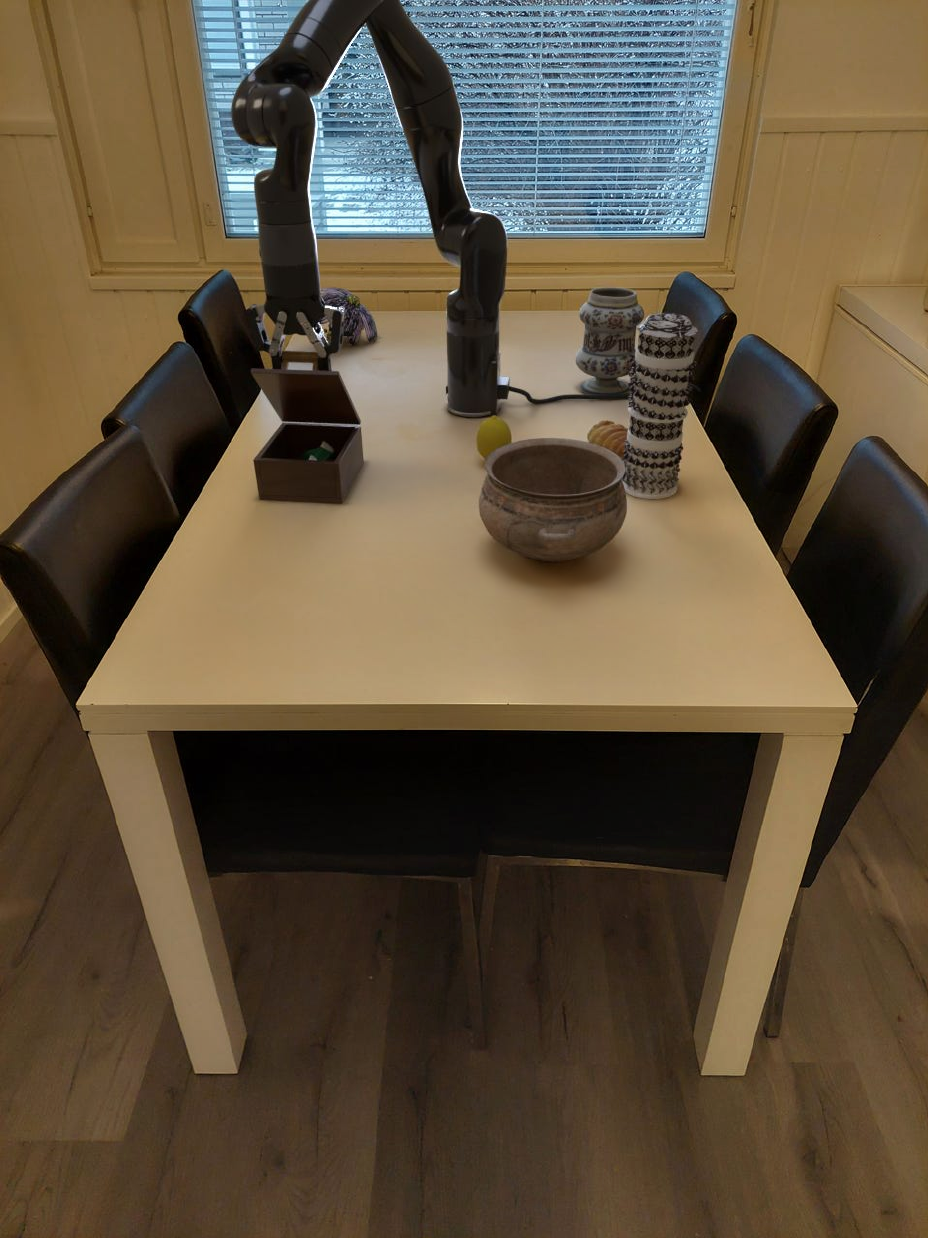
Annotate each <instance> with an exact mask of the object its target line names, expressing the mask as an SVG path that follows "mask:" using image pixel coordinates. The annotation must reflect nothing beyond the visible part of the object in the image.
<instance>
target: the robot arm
mask: <svg viewBox="0 0 928 1238" xmlns="http://www.w3.org/2000/svg"><path fill="white" fill-rule="evenodd" d="M365 25H366V28H367V30H368V33H369V35H370V38H371V40H372V44H373V45H374V49H375V52H376V54H377V57H378V59H379V63H380V65H381V68H382V71H383V74H384V76H385V80H386V83H387V86H388V90H389V93H390V95H391V99H392V102H393V105H394V109H395V112H396V114H397V117H398V120H399V124H400V127H401V129H402V132H403V134H404V137H405V140H406V142H407V145H408V148H409V151H410V156H411V158H412V161H413V165H414V167H415V171H416V173H417V176H418V180H419V183H420V185H421V187H422V191H423V195H424V199H425V203H426V207H427V213H428V218H429V221H430V225H431V229H432V234H433V238H434V242H435V245H436V248H437V250H438V253H439V254H440V256H441V257H442V259H443V260H444V261H445V262H446V263H448V264H449V265H451V266H453V267H456V268H459V270H460V271H459V286H458V288H457V289H455V290H452V291H451V292H449V293H448V294H447V296H446V298H445V318H446V320H445V322H446V323H445V326H446V375H447V377H446V378H447V383H446V384H447V385H446V386H445V395H446V396H447V404H446V405H447V407H446V408H447V411H448V412H449V413H451V414H453V415H456V416H460V417H465V418H466V417H468V418H480V417H486V416H494V415H495V416H497V415H498V412H499V409H500V404H501V400H508V398H509V394H510V392H512V393H515V394H519V395H521V396H524V397H525V398H526V400H527V401H528V402H529V403H531V404H534V405H542V404H551V403H555V402H558V401H563V400H616V399H628V397H629V396H630V393H631V392H630V393H622V394H585V393H581V394H580V393H577V394H576V393H575V394H574V393H573V394H572V393H570V394H569V393H568V394H560V395H555V396H551V397H547V398H539V399H538V398H533V397H532V395H531V394H530V393H529V392H528V391H526V390H524V389H522V388H519V387H514V386H510V378H511V377H510V376H501V352H500V329H501V327H500V326H501V325H500V323H501V322H500V321H501V302H502V300H503V297H504V294H505V290H506V280H507V266H508V265H507V264H508V234H507V231H506V226H505V225H504V222H503V221H502V220H501V218H500V217H498V215H496V214H494V213H491V212H488V211H483V210H480V209H476V208H475V209H474V207H473V206H472V203H471V201H470V199H469V196H468V193H467V190H466V187H465V184H464V180H463V177H462V171H461V152H462V143H463V131H464V122H463V114H462V109H461V106H460V105H461V104H460V102H459V99H458V95H457V91H456V88H455V84H454V81H453V78H452V75H451V72H450V69H449V67H448V65H447V63H446V62H445V60H444V59H443V58H442V56H441V55H440V53H439V52H438V51H437V50H436V48H435V47H434V46H433V45H432V44H431V42H430V41H429V40H428V39H427V38H426V37H425V35H424V34H423V33H422V32H421V31H420V30H419V28H418V27H417V26H416V25H415V24H414V22H413V21H412V19H411V18H410V17H409V15H408V14H407V11H406V10H405V8H404V6H403V4H402V2H401V0H307V2H306V3H305V4H304V5H303V6H302V7H301V9H300V10H299V11H298V13H297V14H296V15H295V17H294V19H293V21H292V22H291V24H290V26H289V27H288V29H287V31H286V32H285V34H284V36H283V37H282V39H281V40H280V43H279V45H278V46H277V47H276V48H275V49H274V50H273V51H272V52H270V53H269V54H268V55H267V56H265V58H263V60H261V61H260V62H259V63H258V64H257V65H256V66H255V67H254V68H253V69H252V70H251V71H250V72H248V73H247V74H246V76H245V77H244V78H243V79H242V81H241V82H240V83H239V84H238V86H237V88H236V90H235V92H234V95H233V98H232V101H231V106H230V117H231V124H232V127H233V129H234V132H235V133H236V135H237V136H238V137H239V138H240V140H242V142H244V143H245V144H247V145H250V146H253V147H259V148H274V149H275V157H274V163H273V167H271V168H267V169H263V170H261V171H259V172H258V173H256V174H255V176H254V179H253V190H254V192H253V193H254V198H255V199H254V200H255V207H256V215H257V216H256V217H257V221H258V222H257V223H258V224H257V225H258V246H259V247H258V248H259V249H258V252H259V253H258V254H259V257H260V261H261V269H262V270H261V271H262V277H263V286H264V292H265V302H264V303H263V304H257V303H252V304H251V305H249V306H248V307H247V308H246V310H245V311H244V313H245V316H246V320H247V323H248V325H249V326H248V327H249V330H250V333H251V336H252V339H253V342H254V345H255V349H256V350H257V351H258V352H265V353H267V354H269V356H270V359H271V360H270V361H271V366H272V368H271V369H282V362H283V361H282V358H281V354H282V351H283V347H284V343H285V339H286V338H287V336H293V335H299V336H305V337H307V339H308V341H309V343H310V344H311V345H312V346H313V347H314V349H315V352H317V353H318V355H319V357H318V358H317V359H318V369H319V370H318V371H333V370H332V359H331V355H333V354H338V352H339V351H340V350H341V349H342V348H343V344H344V343H343V342H344V336H343V333H344V322H345V312H346V310H345V308H344V307H343V306H339V307H338V308H335V307H330V306H326V305H325V303H324V301H323V299H322V296H323V295H322V294H321V290H322V287H321V276H320V266H319V255H318V245H317V236H316V231H315V227H314V222H313V211H312V201H311V191H310V181H311V174H312V169H313V161H314V154H315V146H316V140H317V132H318V120H317V119H318V118H317V113H316V109H315V104H314V102H313V101H312V98H313V97H315V96H318V95H320V94H321V93H323V91H324V90H325V88H326V87H327V86H328V85H329V83H330V81H331V79H332V78H333V76H334V74H335V72H336V70H337V69H338V67H339V65H340V63H341V62H342V60H343V59H344V56H345V55H346V53H347V51H348V50H349V48H350V46H351V44H352V43H353V41H354V40H355V39H356V37H357V36H358V35H359V33H360V31H361V30H362V29H363V27H364V26H365ZM324 314H325V315H326V316H327V317H328V322H327V323H328V324H332V330H331V338H330V342H328V340H327V337H326V335H325V333H324V331H323V329H324V328H323V327H322V324H320V323H319V321H320V320H321V318H322V317H323V315H324ZM266 315H267V316H268V318H269V319H270V320H271V321H272V322H273V324H274V325H275V326H274V329H273V332H272V336H271V340H270V339H269V336H268V333H267V329H266V326H265V323H264V320H265V319H266ZM687 385H689V386H690V387H691V388H693V392H696V393H700V392H701V389H700V388H699V386H697V385H695V384H694V383H691V382H688V384H687Z"/></svg>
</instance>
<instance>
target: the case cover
mask: <svg viewBox="0 0 928 1238" xmlns="http://www.w3.org/2000/svg"><path fill="white" fill-rule="evenodd" d="M318 357H319V355H318V353H317V351H313V350H312V351H311V350H309V351H308V350H307V351H306V350H282V354H281V358H282V361H283V362H282V369H273V368H253V367H252V368H250V374H251V376H252V377H253V379H254V380H255V382H256V384H257V385H258V386H259V388H260V389H261V391H262V393H263V394H264V396H265V397H266V399H267V401H268V402H269V404H270V405H271V406H272V408H273V410H274V411H275V413H276V415H277V416H278V418H279V420H280V421H281V422H282V423H283V422H284V423H309V424H335V425H360V426H361V424H362V420H361V418H360V416H359V414H358V411H357V408H356V407H355V405H354V402H353V400H352V398H351V396H350V393H349V391H348V389H347V386H346V385H345V382H344V380H343V378H342V376H341V373H340V371H339V370H332V371H319V369H318V359H317V358H318ZM289 363H290V364H291V363H292V364H293V363H294V364H295V363H296V364H312V369H289Z"/></svg>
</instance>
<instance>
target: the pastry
mask: <svg viewBox="0 0 928 1238" xmlns="http://www.w3.org/2000/svg"><path fill="white" fill-rule="evenodd" d="M628 429H629V427H628V428H627V427H625V426H624V425H623V424H620V423H615V422H614V421H611V420H608V419H606V420H601V421H599V422H598V423H596V424H594V425H593V426H592V427H591V428H590V430H589V432H588V433H587V442H588V443H592V444H596V445H598V446H601V447H604V448H606V449H608V450H610V451H612V452H613V453H615V454H616V455H617V456H619V457H620V459H621V460H625V458H624V454H623V452H624V451H625V450H626V448H625V444H624V442H625V441H626V440H627V432H628Z"/></svg>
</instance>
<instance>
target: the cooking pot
mask: <svg viewBox="0 0 928 1238" xmlns="http://www.w3.org/2000/svg"><path fill="white" fill-rule="evenodd" d="M623 461H624V460H623V459H620V457H619V456H617V455H616V454H615V453H613V452H612V451H610V450H608V449H606V448H604V447H601V446H598V445H596V444H592V443H589V441H584V440H578V439H572V438H564V437H563V438H561V437H560V438H559V437H537V438H529V439H524V440H523V439H522V440H517V441H514V442H512V443H510V444H507V445H504V446H502V447H500V448H498V449H496V450H494V451H493V452H492V453H491V454H489V456H488V457H487V458H486V460H485V461H484V470H485V471H486V475H485V476H484V480H483V483H482V486H481V489H480V493H479V496H478V510H479V517H480V519H481V521H482V523H483V525H484V527H485V530H486V531H487V532H488V534H489V535H490V536H491V537H492V538H493V539H494V541H495V542H497V543H498V544H499V545H501V546H502V547H504V548H505V549H507V550H509V551H511V552H512V553H515V554H517V555H520V556H522V557H525V558H527V559H531V560H534V561H537V562H541V563H549V564H557V563H563V562H566V561H570V560H574V559H579V558H582V557H585V556H588V555H591V554H593V553H595V552H598V551H600V550H601V549H602V548H604V547H606V546H607V545H608V544H609V543H611V542H612V540H613V539H614V538H615V537H616V536H617V534H618V533H619V532H620V530H621V529H622V527H623V525H624V523H625V520H626V517H627V511H628V498H627V493H626V492H625V488H624V485H623V482H622V477H623V475H624V473H625V465H624V463H623Z"/></svg>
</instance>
